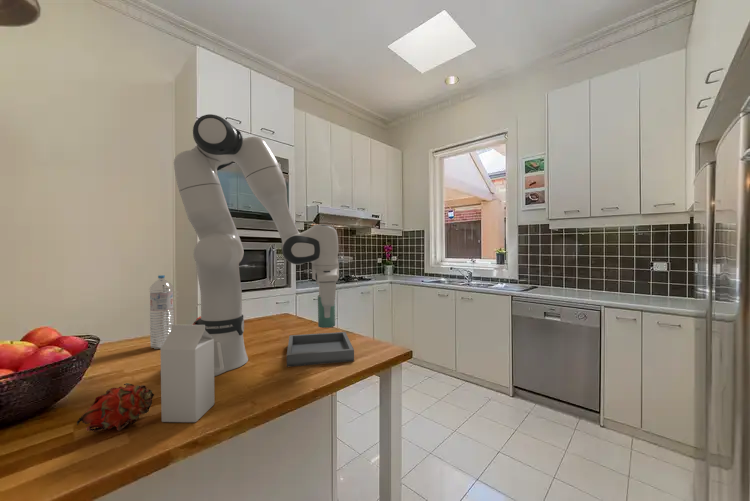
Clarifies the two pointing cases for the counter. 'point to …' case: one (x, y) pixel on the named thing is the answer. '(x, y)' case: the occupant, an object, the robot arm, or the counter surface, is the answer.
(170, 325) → the water bottle
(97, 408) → the dragon fruit
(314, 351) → the tray
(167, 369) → the milk carton
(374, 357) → the counter surface
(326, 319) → the green rounded cylinder
